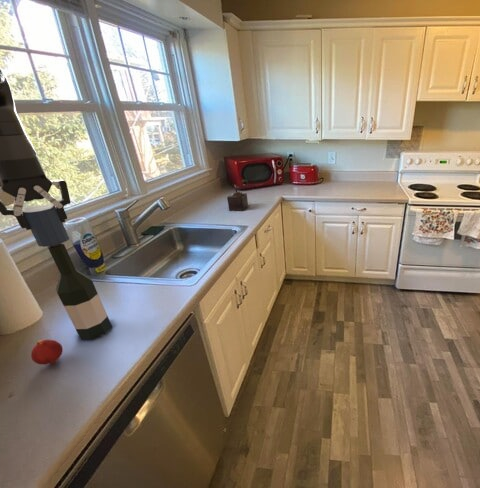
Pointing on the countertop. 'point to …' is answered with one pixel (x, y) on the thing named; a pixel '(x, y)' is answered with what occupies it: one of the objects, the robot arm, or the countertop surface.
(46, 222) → the cup
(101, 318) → the wine bottle
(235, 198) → the manual coffee grinder
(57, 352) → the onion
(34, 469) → the countertop surface
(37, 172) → the robot arm
